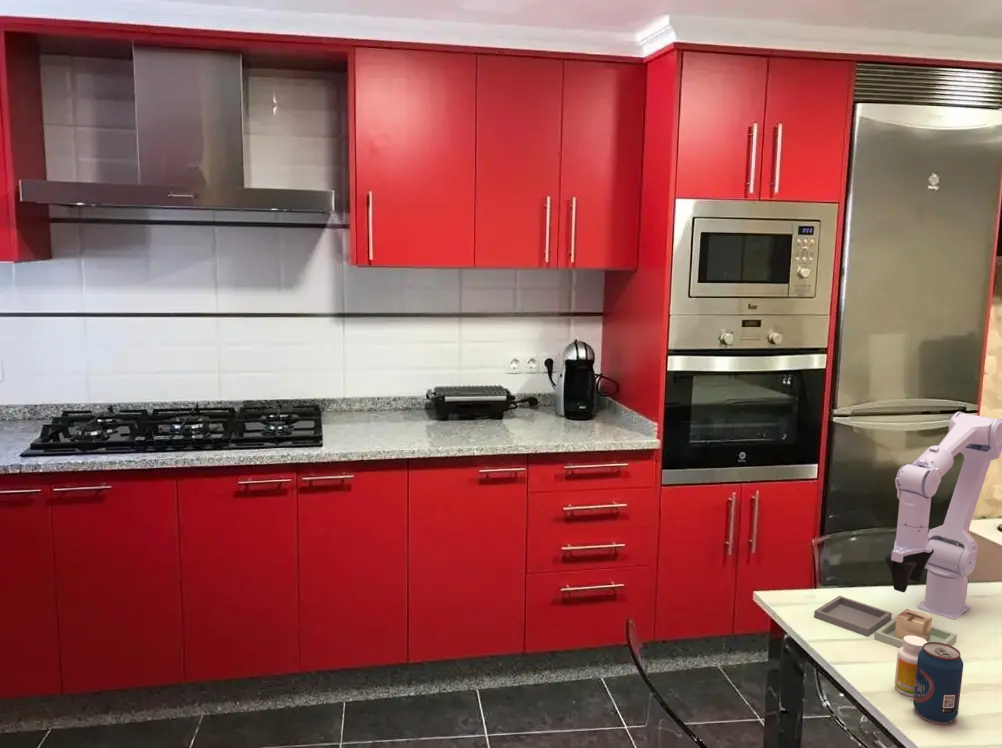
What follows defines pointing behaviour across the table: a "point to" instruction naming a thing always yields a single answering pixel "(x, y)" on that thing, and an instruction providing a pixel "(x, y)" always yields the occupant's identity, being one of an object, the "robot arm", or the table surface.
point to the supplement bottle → (908, 664)
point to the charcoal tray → (853, 615)
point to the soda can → (938, 682)
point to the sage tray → (888, 636)
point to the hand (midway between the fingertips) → (906, 585)
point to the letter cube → (913, 625)
